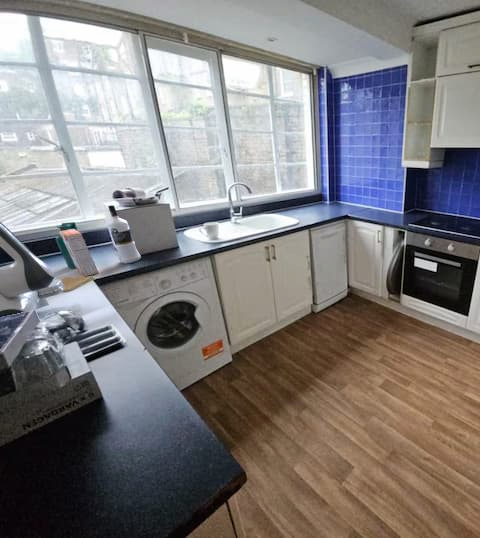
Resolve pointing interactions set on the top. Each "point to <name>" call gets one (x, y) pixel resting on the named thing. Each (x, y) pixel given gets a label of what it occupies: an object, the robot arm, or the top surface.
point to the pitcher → (62, 245)
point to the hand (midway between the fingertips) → (27, 286)
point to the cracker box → (79, 252)
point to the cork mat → (74, 282)
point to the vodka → (122, 238)
